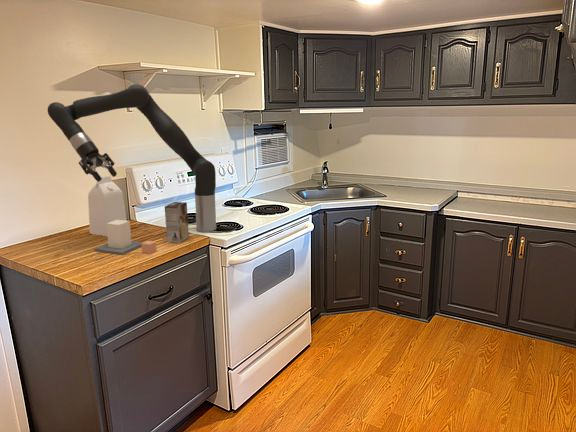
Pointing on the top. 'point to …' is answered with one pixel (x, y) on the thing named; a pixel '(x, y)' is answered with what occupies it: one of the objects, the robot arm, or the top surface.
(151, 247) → the block
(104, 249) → the mat
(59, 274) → the top surface
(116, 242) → the white rectangular block
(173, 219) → the coffee box
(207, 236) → the top surface
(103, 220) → the milk
